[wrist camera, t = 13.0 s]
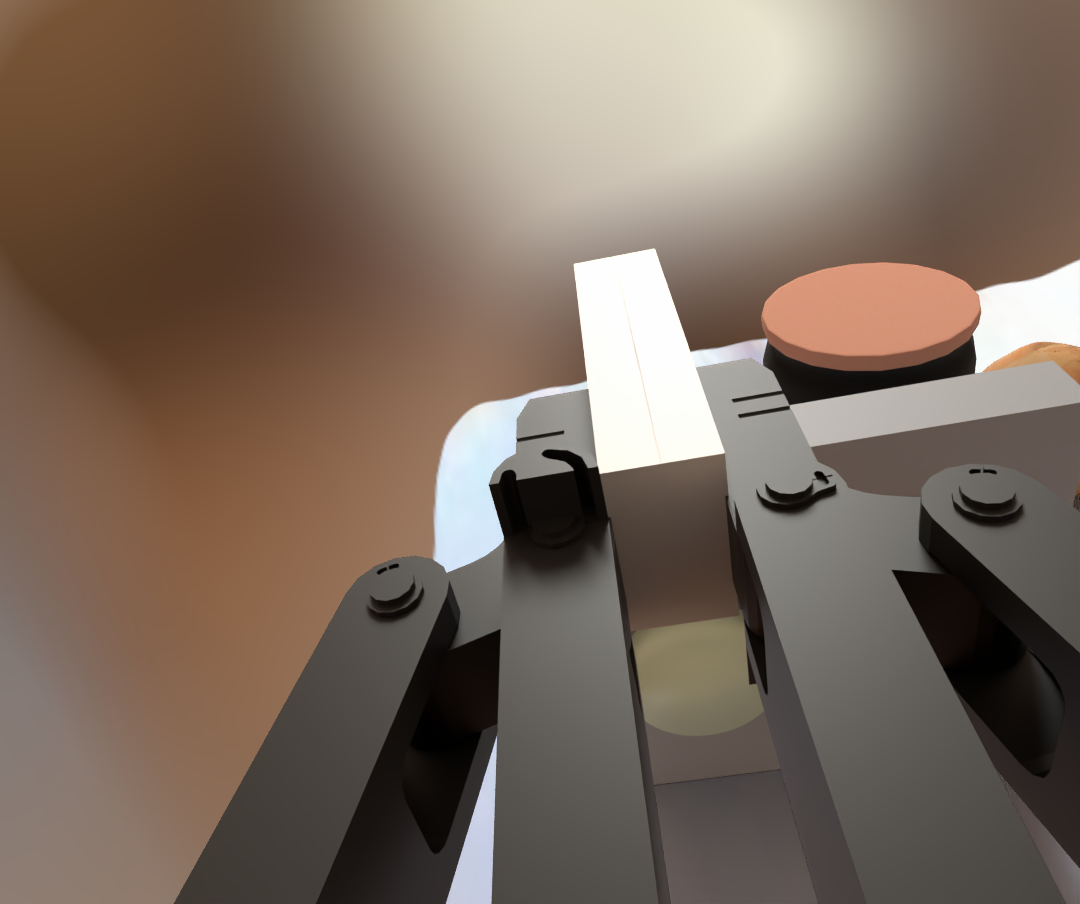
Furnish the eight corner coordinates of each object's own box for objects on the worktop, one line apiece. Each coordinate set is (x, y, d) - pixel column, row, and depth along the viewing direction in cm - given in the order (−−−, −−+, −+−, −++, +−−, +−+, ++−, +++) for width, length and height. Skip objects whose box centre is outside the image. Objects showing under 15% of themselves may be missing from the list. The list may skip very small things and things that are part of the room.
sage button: (622, 603, 43) (605, 515, 40) (738, 586, 42) (731, 494, 39) (640, 744, 36) (621, 651, 33) (780, 725, 35) (775, 629, 32)
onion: (931, 499, 56) (942, 373, 51) (987, 425, 61) (1002, 303, 56) (1094, 549, 50) (1128, 411, 44) (1141, 461, 55) (1176, 328, 50)
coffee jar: (899, 490, 58) (913, 245, 48) (988, 595, 49) (1030, 322, 39) (750, 527, 58) (733, 289, 47) (812, 638, 49) (808, 376, 39)
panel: (619, 739, 46) (551, 445, 34) (995, 690, 44) (1052, 360, 32) (624, 788, 43) (553, 489, 32) (1023, 738, 41) (1095, 400, 30)
